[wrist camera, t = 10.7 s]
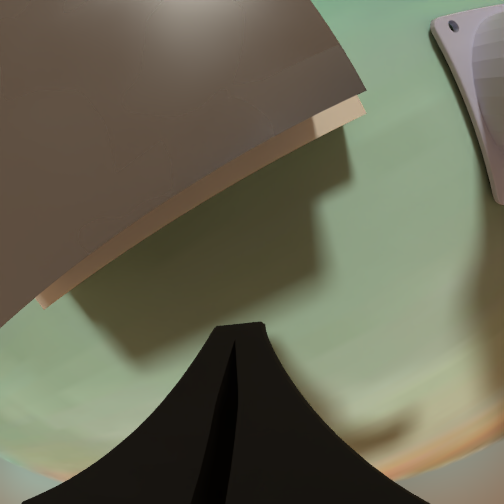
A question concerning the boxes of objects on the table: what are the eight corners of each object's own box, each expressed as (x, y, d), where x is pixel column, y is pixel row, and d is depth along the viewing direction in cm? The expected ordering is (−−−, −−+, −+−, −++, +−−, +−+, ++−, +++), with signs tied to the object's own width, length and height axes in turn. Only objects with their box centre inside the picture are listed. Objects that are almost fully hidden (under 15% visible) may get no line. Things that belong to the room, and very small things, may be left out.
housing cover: (151, -100, 4) (115, -165, 1) (311, 107, 7) (366, 90, 3) (-51, 82, 6) (-123, 88, 2) (47, 280, 9) (-21, 347, 5)
